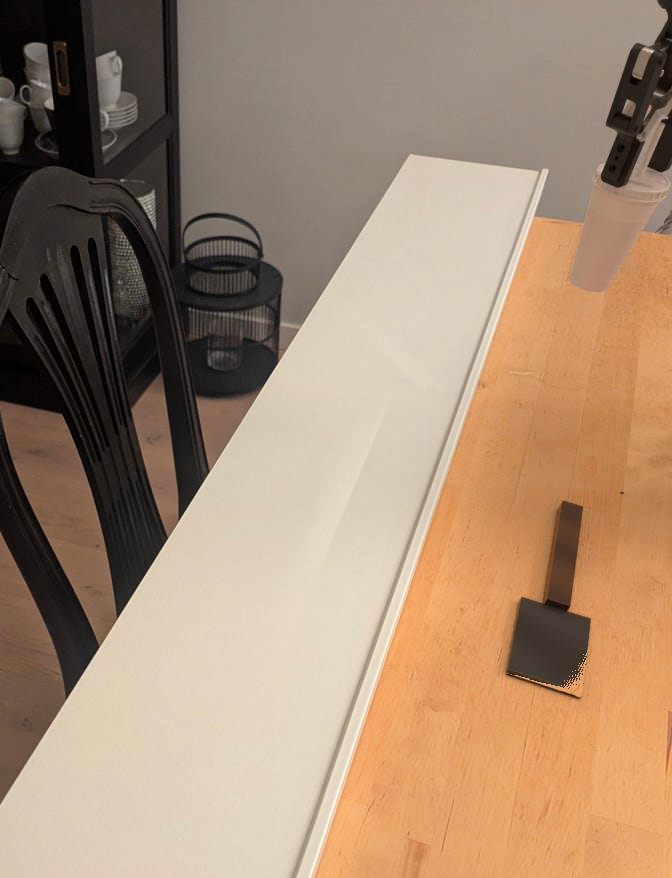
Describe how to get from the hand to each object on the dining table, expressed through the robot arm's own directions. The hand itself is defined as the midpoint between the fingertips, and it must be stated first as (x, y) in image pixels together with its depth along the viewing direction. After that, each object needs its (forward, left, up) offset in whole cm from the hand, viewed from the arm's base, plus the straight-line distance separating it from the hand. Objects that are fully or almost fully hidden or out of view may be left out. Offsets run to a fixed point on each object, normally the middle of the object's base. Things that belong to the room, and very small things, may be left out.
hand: (634, 175), depth 79 cm
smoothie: (0, 0, -10) cm, 10 cm away
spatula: (+20, +17, -26) cm, 36 cm away
